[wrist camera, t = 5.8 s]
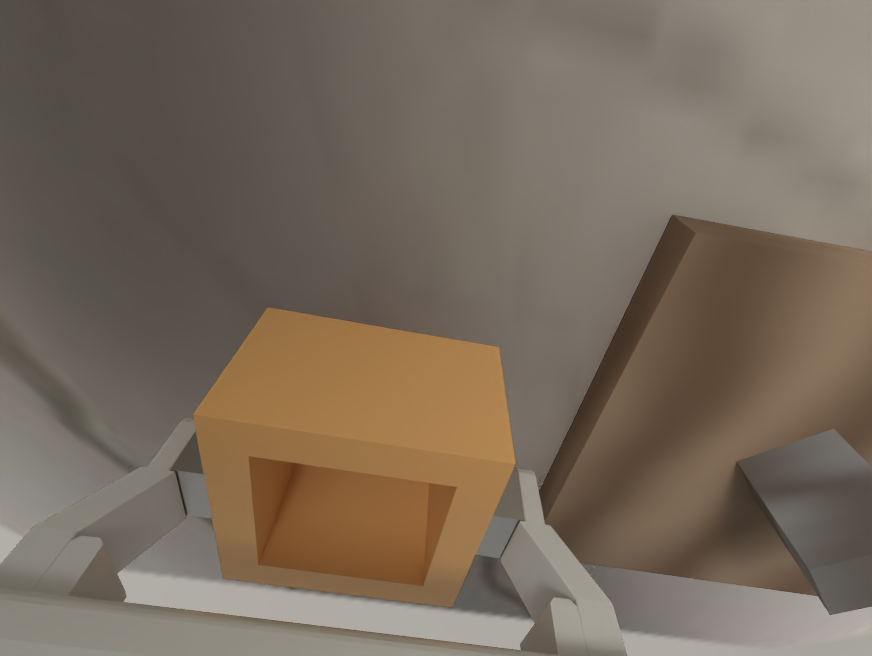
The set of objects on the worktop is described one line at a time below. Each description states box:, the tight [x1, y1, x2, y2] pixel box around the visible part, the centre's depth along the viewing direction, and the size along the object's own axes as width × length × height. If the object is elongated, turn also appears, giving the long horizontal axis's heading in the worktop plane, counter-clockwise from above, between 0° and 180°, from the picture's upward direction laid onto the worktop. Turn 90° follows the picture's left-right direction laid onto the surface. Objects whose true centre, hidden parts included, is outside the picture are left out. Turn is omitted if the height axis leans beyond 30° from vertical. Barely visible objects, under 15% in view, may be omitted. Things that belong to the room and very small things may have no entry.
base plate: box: [539, 215, 872, 615], centre depth 15 cm, size 16×16×6 cm
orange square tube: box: [193, 307, 516, 608], centre depth 12 cm, size 6×6×4 cm
